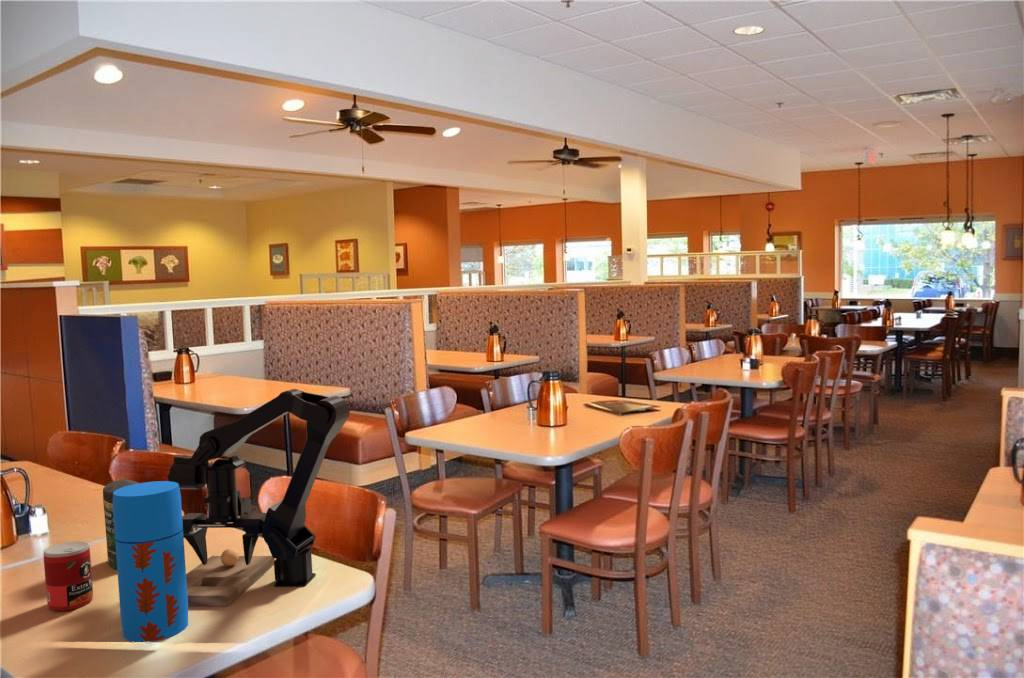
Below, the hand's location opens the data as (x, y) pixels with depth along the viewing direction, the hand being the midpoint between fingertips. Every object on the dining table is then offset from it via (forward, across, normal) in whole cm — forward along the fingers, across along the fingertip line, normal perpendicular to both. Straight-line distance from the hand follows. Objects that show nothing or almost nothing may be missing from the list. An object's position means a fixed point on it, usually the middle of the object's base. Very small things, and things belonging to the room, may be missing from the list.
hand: (226, 564), depth 165 cm
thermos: (+3, +1, +25) cm, 25 cm away
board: (+3, 0, +4) cm, 5 cm away
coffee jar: (+3, +26, -7) cm, 27 cm away
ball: (-1, 0, -2) cm, 2 cm away
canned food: (+3, +25, +14) cm, 29 cm away
